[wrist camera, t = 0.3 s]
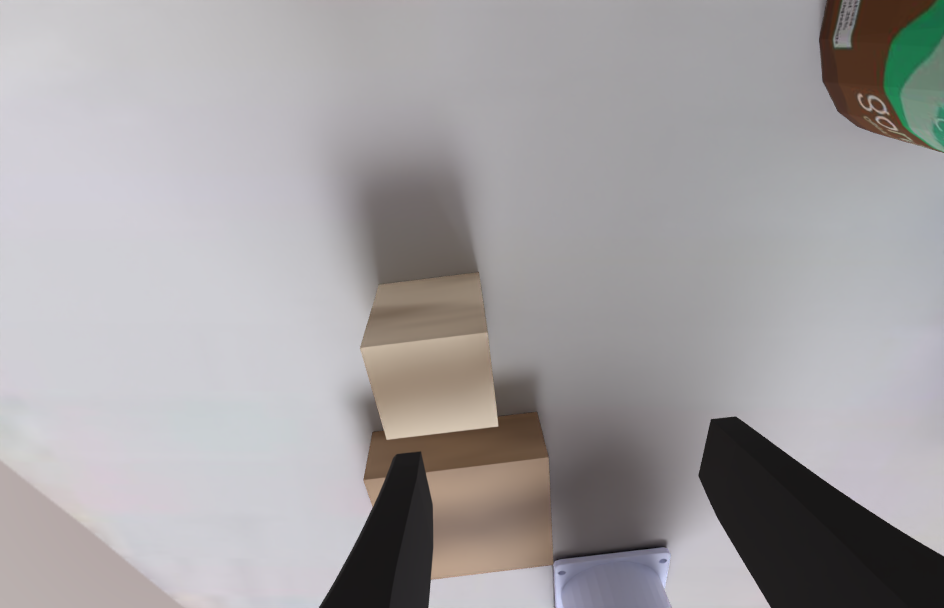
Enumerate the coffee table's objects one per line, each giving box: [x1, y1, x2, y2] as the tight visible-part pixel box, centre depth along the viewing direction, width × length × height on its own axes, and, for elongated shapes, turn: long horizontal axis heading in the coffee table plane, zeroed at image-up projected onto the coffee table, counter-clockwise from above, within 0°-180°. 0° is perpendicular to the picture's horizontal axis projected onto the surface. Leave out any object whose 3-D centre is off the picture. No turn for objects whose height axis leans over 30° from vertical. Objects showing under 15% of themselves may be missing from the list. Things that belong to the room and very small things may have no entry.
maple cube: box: [360, 272, 498, 440], centre depth 19 cm, size 4×4×5 cm
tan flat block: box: [364, 412, 553, 580], centre depth 25 cm, size 9×9×4 cm
